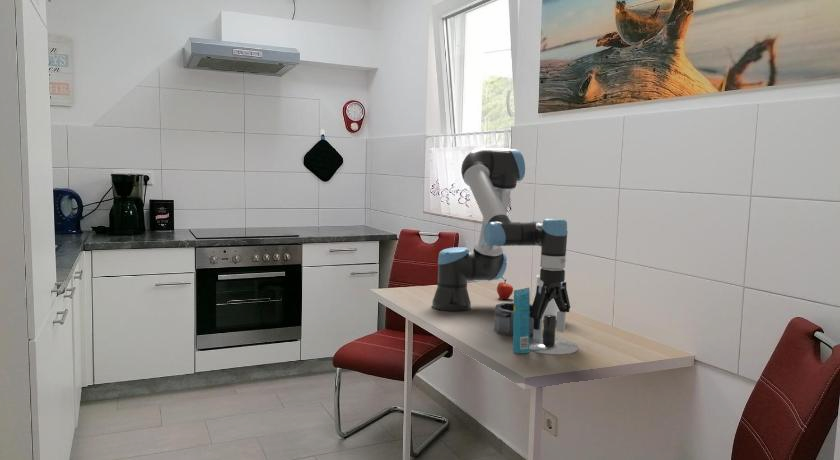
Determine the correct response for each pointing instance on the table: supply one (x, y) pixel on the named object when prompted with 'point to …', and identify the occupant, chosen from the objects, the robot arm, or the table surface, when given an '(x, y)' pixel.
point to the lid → (551, 340)
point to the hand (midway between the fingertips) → (549, 335)
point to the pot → (508, 319)
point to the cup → (551, 306)
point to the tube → (521, 321)
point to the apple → (504, 290)
